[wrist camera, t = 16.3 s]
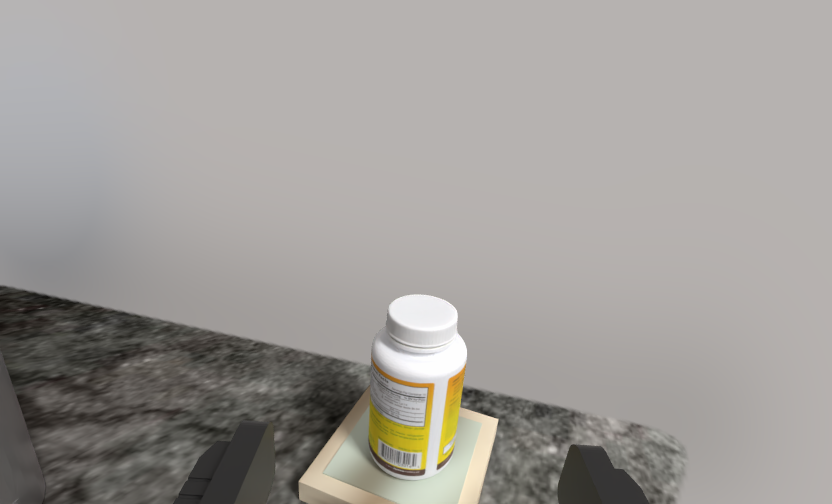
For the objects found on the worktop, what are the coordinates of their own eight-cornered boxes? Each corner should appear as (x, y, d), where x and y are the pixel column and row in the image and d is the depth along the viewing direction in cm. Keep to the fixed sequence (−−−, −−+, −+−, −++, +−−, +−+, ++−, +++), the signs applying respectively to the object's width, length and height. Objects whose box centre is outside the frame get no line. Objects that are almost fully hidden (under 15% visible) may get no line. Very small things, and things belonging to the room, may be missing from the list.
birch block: (299, 499, 25) (298, 480, 24) (372, 395, 34) (373, 379, 33) (461, 569, 22) (464, 549, 21) (495, 435, 31) (498, 418, 30)
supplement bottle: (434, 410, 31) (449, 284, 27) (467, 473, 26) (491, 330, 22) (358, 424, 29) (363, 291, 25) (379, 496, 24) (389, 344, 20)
